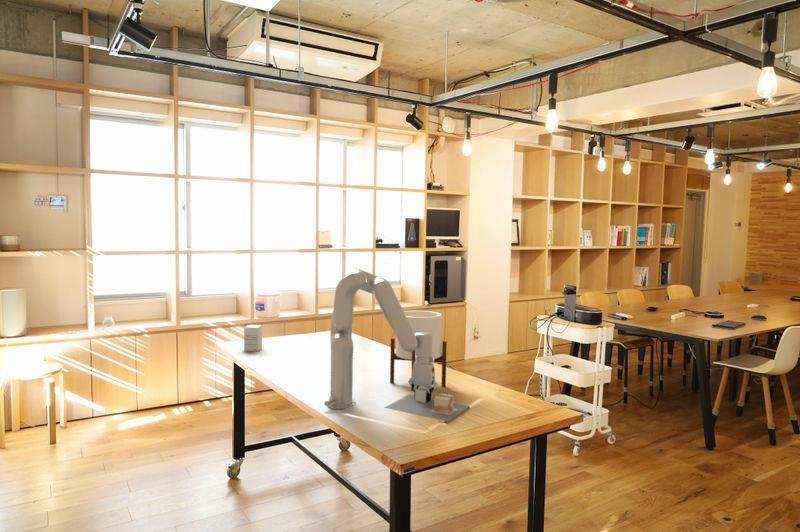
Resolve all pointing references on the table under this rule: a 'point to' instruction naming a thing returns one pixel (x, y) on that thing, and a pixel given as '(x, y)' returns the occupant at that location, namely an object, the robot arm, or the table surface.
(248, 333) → the supplement box
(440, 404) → the maple block
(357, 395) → the table surface
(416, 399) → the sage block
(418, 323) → the plant pot with stand
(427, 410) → the board
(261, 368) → the table surface
